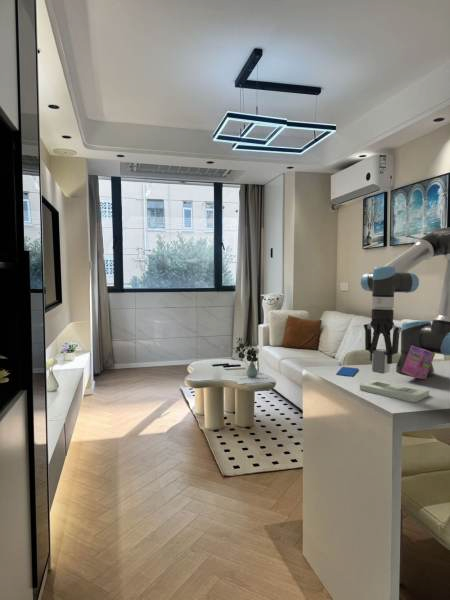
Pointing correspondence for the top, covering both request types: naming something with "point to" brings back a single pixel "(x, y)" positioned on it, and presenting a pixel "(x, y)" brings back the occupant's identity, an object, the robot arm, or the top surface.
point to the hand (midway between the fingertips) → (380, 371)
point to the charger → (378, 360)
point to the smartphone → (347, 371)
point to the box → (418, 362)
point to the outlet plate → (395, 390)
